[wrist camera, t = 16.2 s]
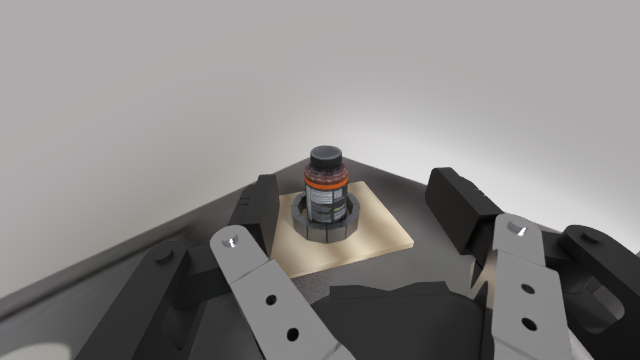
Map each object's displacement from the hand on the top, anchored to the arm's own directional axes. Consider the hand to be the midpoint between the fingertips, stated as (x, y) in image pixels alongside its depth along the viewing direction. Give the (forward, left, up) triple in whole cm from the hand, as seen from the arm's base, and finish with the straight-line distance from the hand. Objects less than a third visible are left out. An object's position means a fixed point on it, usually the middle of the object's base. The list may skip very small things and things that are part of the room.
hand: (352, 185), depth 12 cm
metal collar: (-3, -16, -18) cm, 24 cm away
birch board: (-3, -16, -18) cm, 24 cm away
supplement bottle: (-4, -16, -17) cm, 24 cm away
